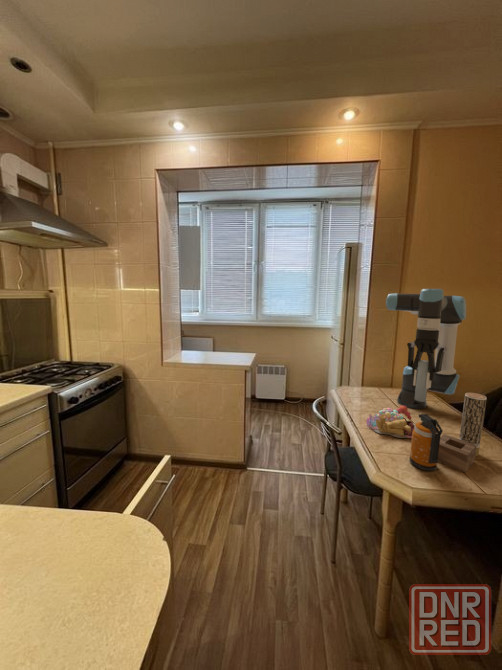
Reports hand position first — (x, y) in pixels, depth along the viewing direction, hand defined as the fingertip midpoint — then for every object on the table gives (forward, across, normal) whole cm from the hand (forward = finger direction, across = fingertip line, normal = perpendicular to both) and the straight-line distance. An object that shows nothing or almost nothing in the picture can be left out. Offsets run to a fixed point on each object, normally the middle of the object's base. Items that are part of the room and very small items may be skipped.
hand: (421, 386), depth 113 cm
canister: (+29, +7, -8) cm, 31 cm away
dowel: (+6, 0, 0) cm, 6 cm away
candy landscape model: (+29, -17, +14) cm, 37 cm away
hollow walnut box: (+29, +12, +6) cm, 31 cm away
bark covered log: (+29, +13, +17) cm, 36 cm away
